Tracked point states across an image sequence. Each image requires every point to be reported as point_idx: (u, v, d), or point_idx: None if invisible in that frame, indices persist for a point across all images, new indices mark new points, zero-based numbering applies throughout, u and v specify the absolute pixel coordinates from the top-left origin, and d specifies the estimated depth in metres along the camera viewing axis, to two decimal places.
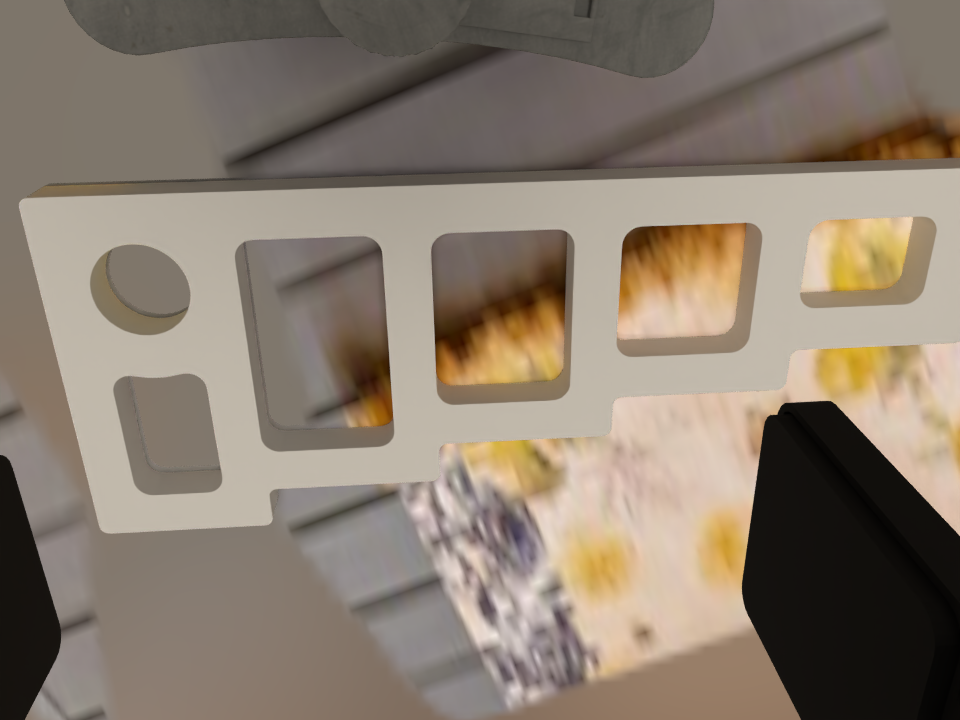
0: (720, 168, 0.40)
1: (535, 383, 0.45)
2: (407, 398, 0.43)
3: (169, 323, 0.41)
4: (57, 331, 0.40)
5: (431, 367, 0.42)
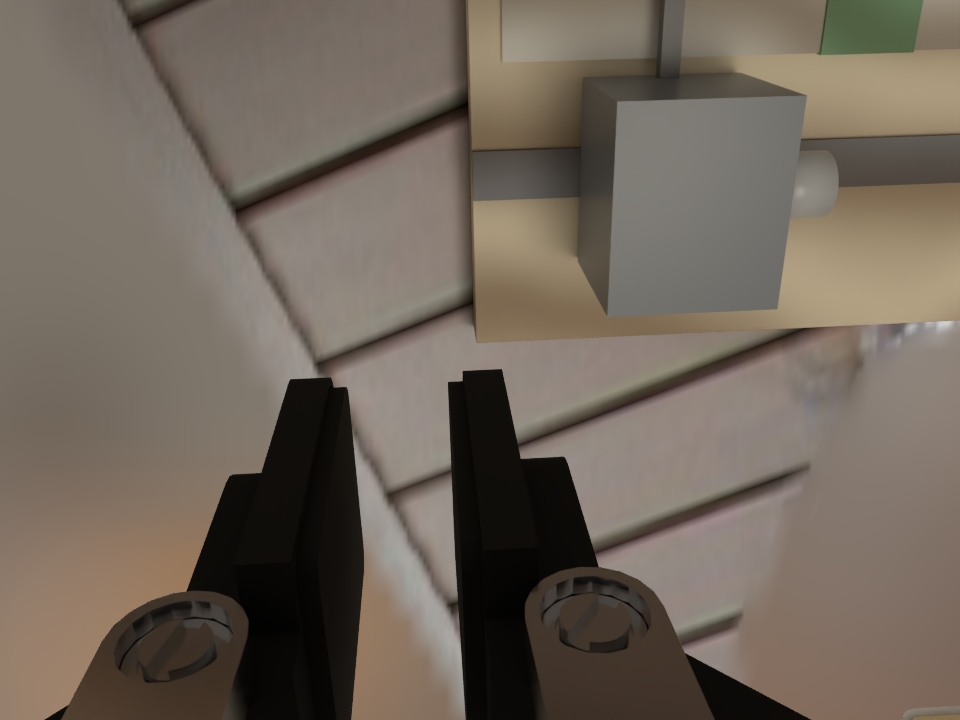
0: None
1: None
2: None
3: None
4: None
5: None
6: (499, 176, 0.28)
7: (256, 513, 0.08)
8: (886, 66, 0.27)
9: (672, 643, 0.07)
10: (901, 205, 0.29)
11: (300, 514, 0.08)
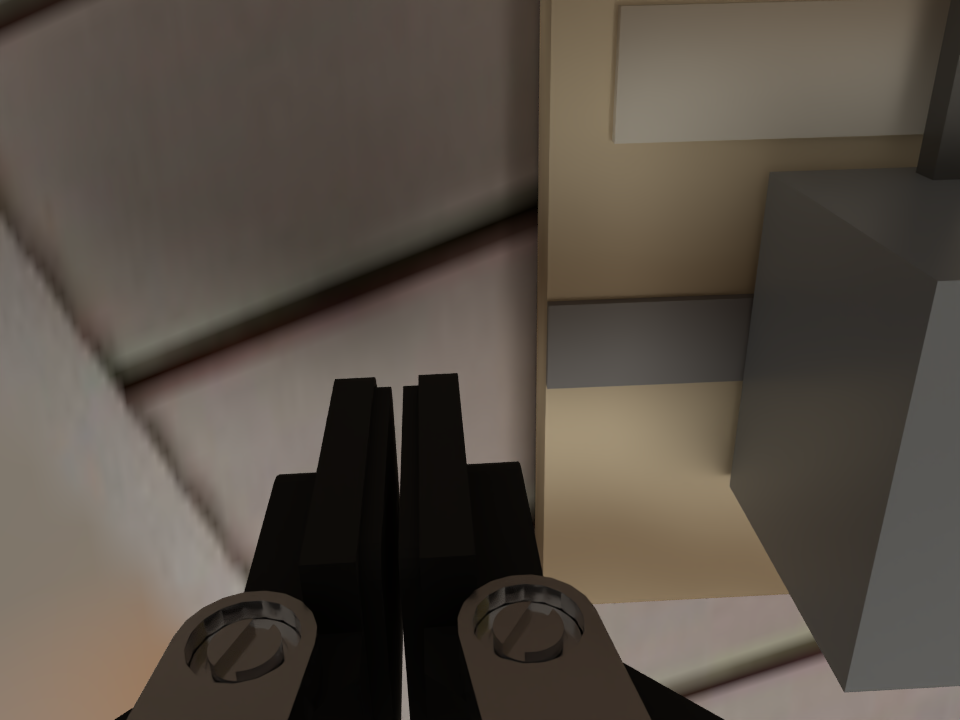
0: None
1: None
2: None
3: None
4: None
5: None
6: (597, 347, 0.15)
7: (315, 513, 0.08)
8: None
9: (607, 647, 0.07)
10: None
11: (361, 515, 0.08)
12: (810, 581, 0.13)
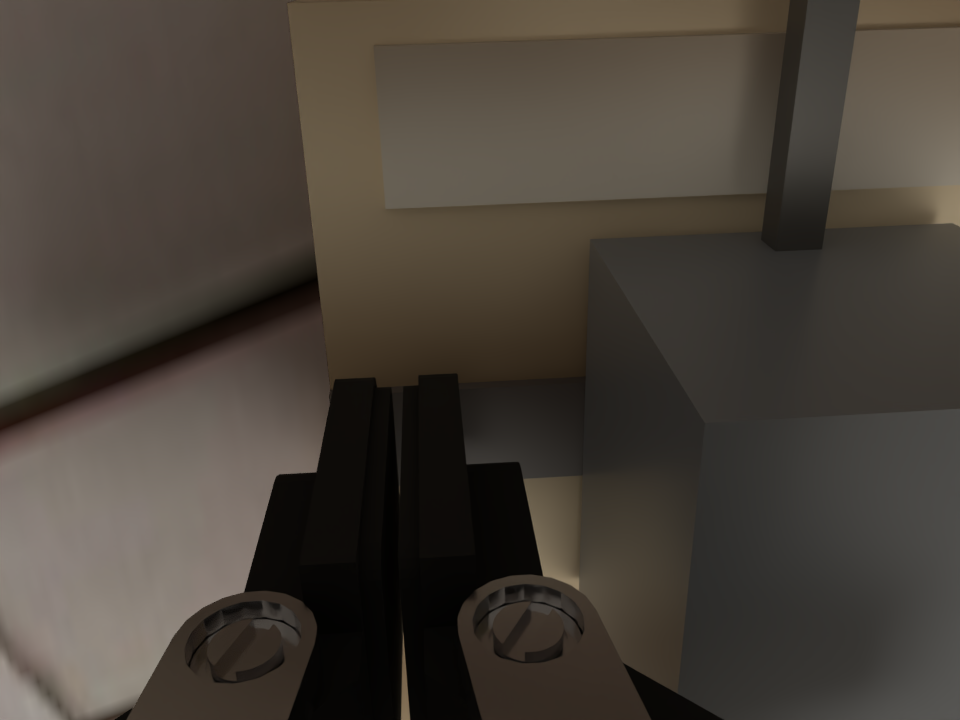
0: None
1: None
2: None
3: None
4: None
5: None
6: None
7: (315, 513, 0.08)
8: None
9: (606, 648, 0.07)
10: None
11: (360, 515, 0.08)
12: None
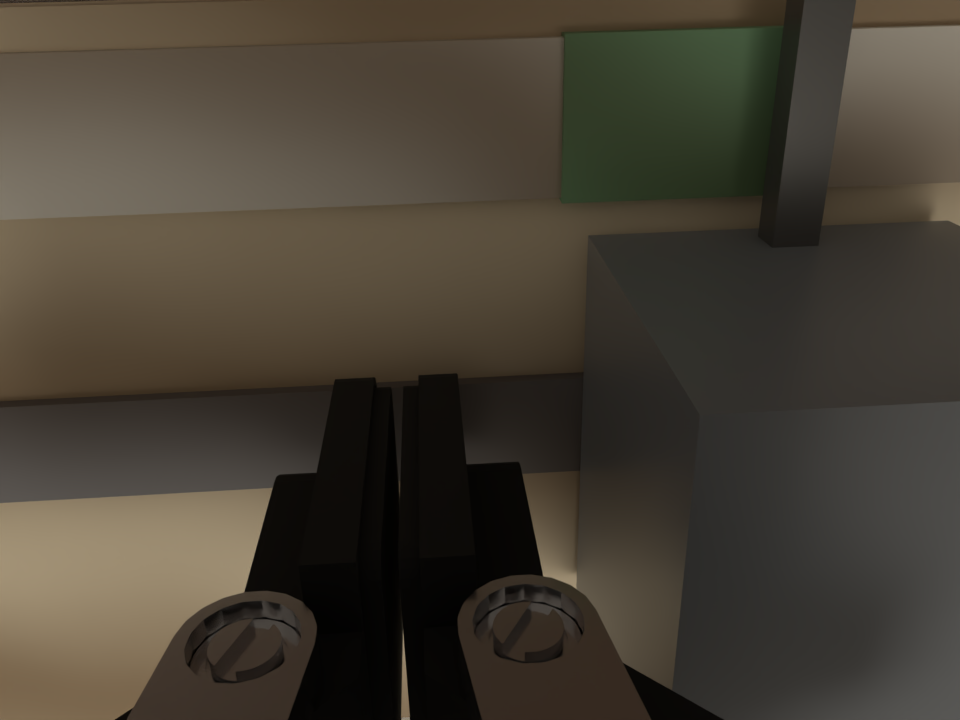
0: None
1: None
2: None
3: None
4: None
5: None
6: None
7: (315, 513, 0.08)
8: (726, 222, 0.12)
9: (606, 647, 0.07)
10: None
11: (360, 515, 0.08)
12: None
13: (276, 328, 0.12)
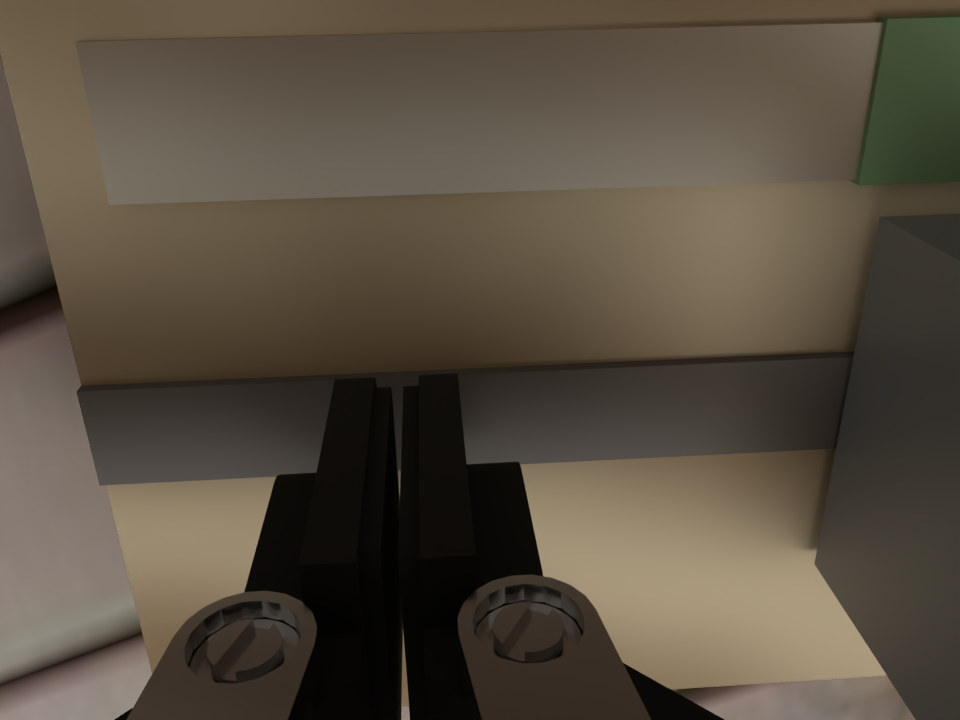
0: None
1: None
2: None
3: None
4: None
5: None
6: (148, 437, 0.13)
7: (315, 513, 0.08)
8: None
9: (607, 647, 0.07)
10: None
11: (360, 514, 0.08)
12: (940, 699, 0.11)
13: (560, 306, 0.12)
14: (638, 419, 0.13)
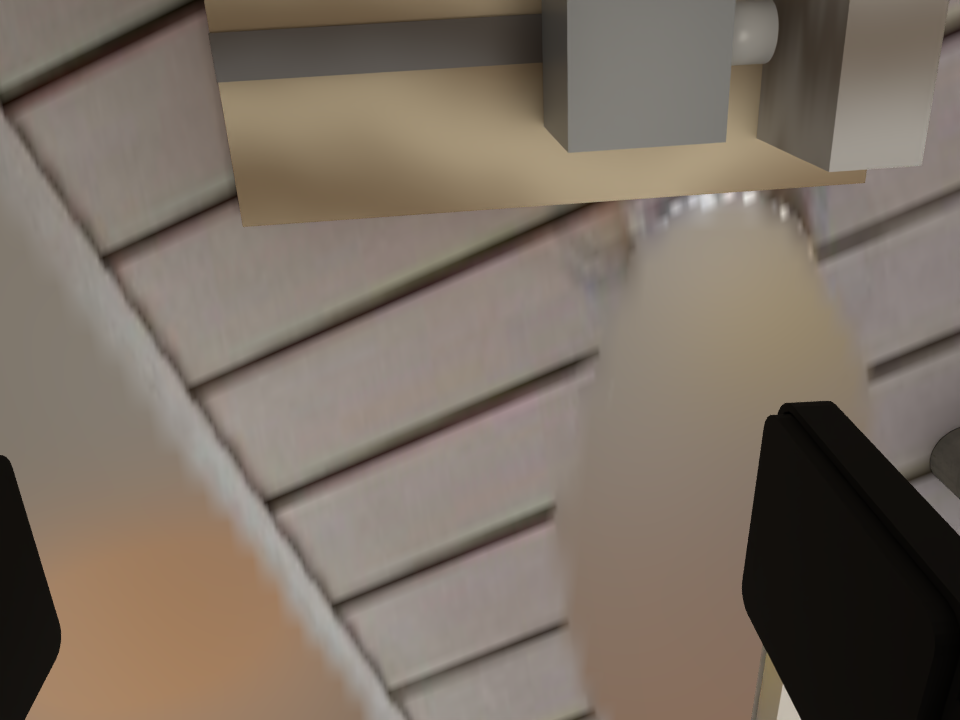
0: None
1: None
2: None
3: None
4: (783, 715, 0.44)
5: None
6: (238, 57, 0.29)
7: None
8: None
9: None
10: None
11: None
12: (560, 121, 0.27)
13: None
14: (451, 46, 0.30)
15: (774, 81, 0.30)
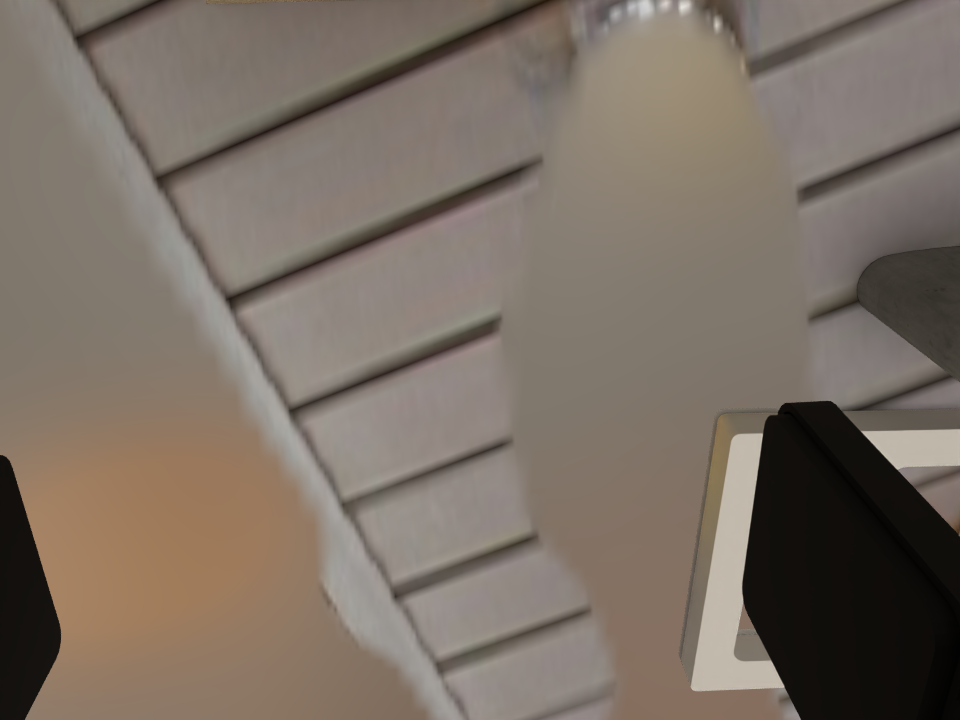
0: None
1: None
2: None
3: None
4: (721, 534, 0.46)
5: None
6: None
7: None
8: None
9: None
10: None
11: None
12: None
13: None
14: None
15: None
